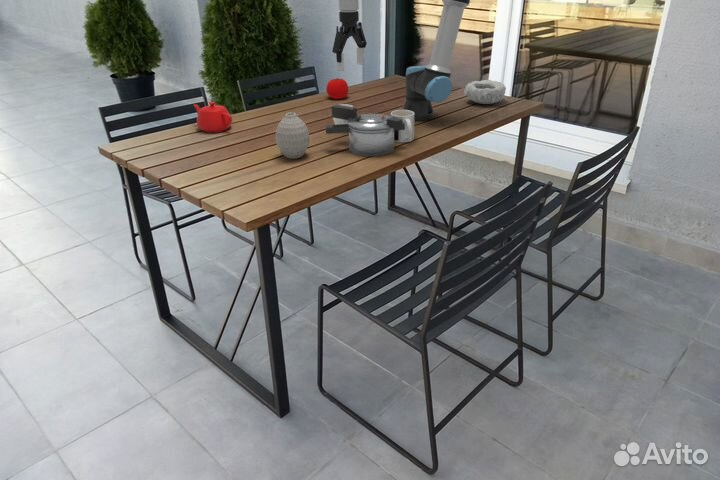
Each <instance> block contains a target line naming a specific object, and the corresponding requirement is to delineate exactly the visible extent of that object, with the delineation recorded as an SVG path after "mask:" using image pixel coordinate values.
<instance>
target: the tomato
mask: <svg viewBox="0 0 720 480" xmlns="http://www.w3.org/2000/svg"><path fill="white" fill-rule="evenodd" d="M349 90H350V89H349V86H348V82H347V81H346V80H345V79H344V78H332V79H330V80H329V81H328V82H327V84H326V93H327V95H328V96H329V97H330V98H331V99H333V100H342V99H345V98H346V97H347V96H348V95H349Z"/></svg>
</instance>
